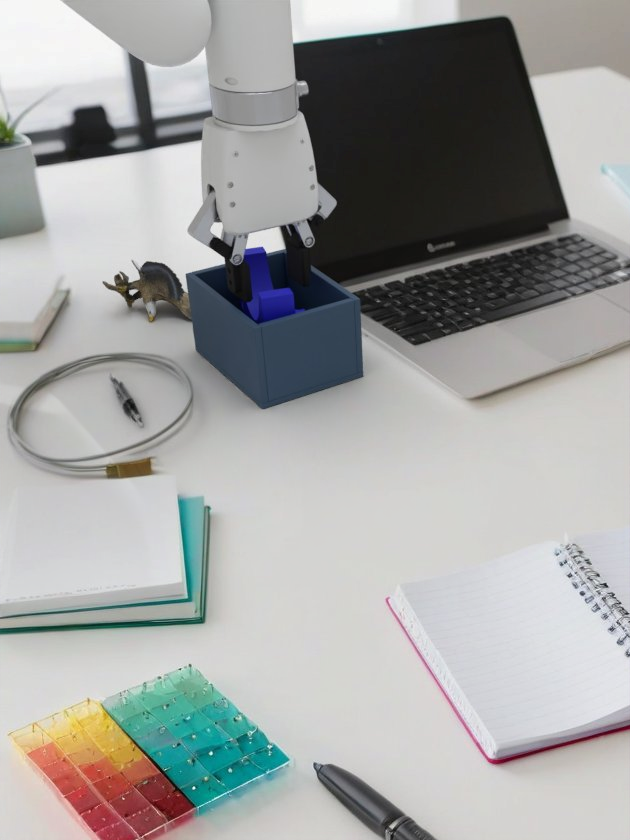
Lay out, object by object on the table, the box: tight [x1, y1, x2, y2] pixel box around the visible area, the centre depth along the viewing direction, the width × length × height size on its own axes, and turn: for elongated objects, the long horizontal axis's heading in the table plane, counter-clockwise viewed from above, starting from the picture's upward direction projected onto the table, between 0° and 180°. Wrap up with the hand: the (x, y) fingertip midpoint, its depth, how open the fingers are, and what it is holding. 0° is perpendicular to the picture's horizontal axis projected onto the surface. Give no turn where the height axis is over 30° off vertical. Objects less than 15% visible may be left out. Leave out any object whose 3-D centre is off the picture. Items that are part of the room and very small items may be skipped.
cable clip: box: [239, 246, 305, 324], centre depth 114 cm, size 12×4×6 cm, turn 24°
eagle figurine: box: [102, 259, 192, 323], centre depth 125 cm, size 8×7×9 cm
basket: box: [185, 248, 364, 410], centre depth 116 cm, size 11×14×9 cm
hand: (270, 287), depth 113 cm, fingers open, 5 cm apart
